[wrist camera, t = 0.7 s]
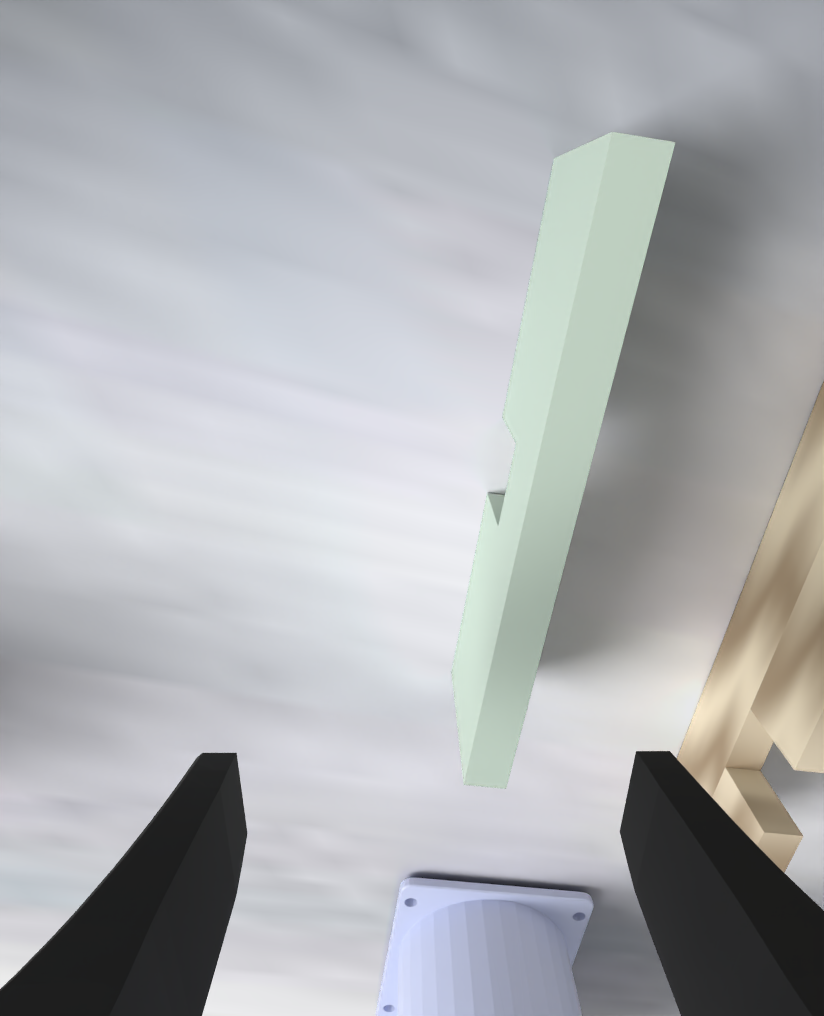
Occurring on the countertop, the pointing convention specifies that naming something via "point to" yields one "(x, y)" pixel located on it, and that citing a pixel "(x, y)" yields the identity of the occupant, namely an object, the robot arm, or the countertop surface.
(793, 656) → the maple slat
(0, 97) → the countertop surface
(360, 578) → the countertop surface
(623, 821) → the robot arm
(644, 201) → the green plate
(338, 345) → the countertop surface
